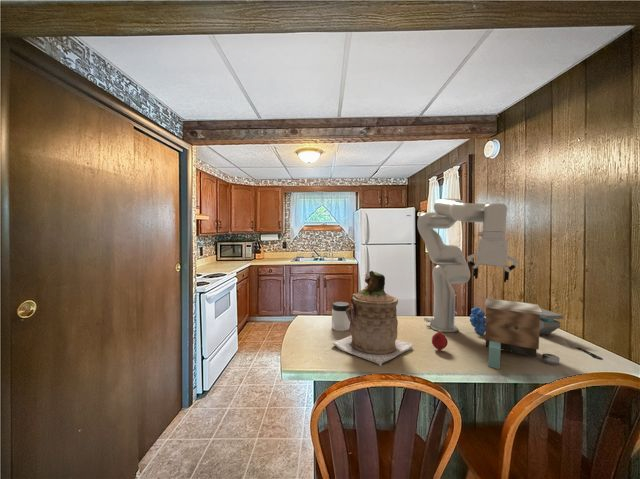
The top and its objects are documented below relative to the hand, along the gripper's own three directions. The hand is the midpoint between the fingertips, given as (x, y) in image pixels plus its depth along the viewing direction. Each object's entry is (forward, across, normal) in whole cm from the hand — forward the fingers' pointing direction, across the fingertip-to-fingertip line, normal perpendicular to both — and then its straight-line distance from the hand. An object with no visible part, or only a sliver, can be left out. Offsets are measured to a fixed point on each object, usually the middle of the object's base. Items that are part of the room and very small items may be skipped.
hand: (490, 279), depth 113 cm
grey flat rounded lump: (+29, +21, +4) cm, 35 cm away
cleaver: (+30, +28, +29) cm, 50 cm away
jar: (+31, -60, -9) cm, 68 cm away
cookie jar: (+30, -39, -22) cm, 53 cm away
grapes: (+30, -5, +22) cm, 38 cm away
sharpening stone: (+30, +17, +43) cm, 55 cm away
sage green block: (+29, +3, -4) cm, 29 cm away
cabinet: (+29, +8, +6) cm, 31 cm away
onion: (+29, -16, -9) cm, 34 cm away
